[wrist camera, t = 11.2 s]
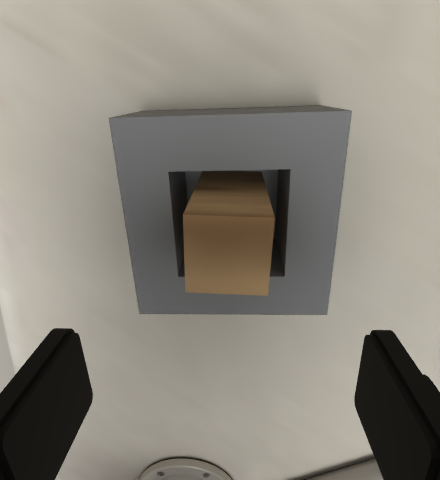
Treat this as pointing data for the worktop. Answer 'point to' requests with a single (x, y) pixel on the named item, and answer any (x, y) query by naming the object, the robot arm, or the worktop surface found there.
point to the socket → (233, 159)
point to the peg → (228, 234)
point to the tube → (354, 472)
